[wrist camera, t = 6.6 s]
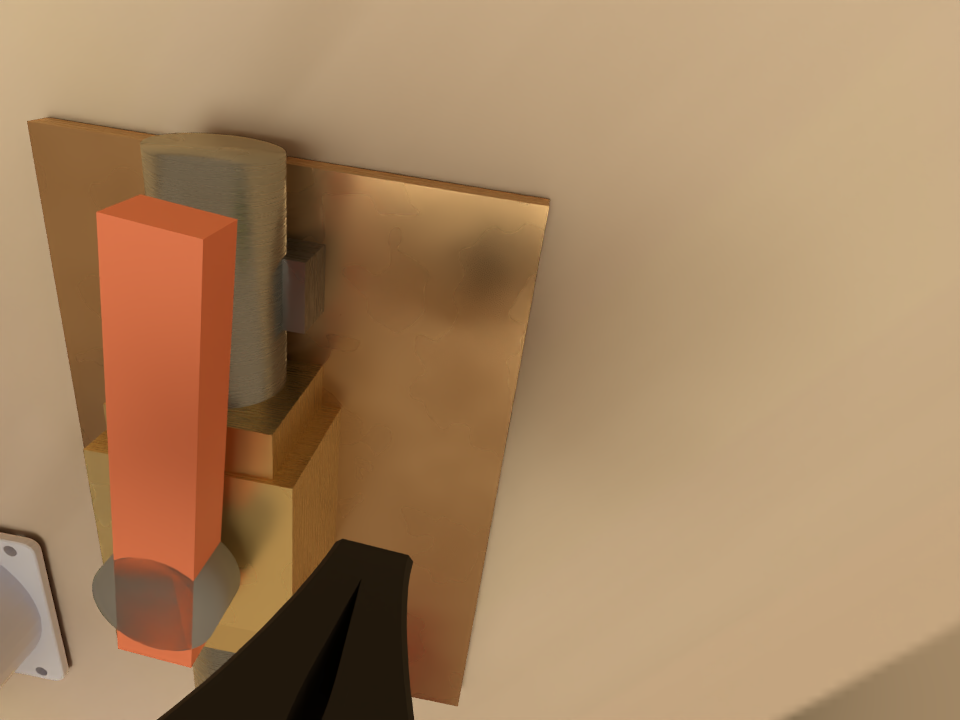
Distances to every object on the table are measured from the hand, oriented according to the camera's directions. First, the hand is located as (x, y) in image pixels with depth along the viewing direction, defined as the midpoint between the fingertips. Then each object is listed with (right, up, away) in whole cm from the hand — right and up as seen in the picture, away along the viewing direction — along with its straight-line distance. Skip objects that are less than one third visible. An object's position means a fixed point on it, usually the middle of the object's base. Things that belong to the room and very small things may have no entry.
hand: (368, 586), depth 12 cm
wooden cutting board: (-5, +1, +11) cm, 12 cm away
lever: (-5, +2, +4) cm, 7 cm away
